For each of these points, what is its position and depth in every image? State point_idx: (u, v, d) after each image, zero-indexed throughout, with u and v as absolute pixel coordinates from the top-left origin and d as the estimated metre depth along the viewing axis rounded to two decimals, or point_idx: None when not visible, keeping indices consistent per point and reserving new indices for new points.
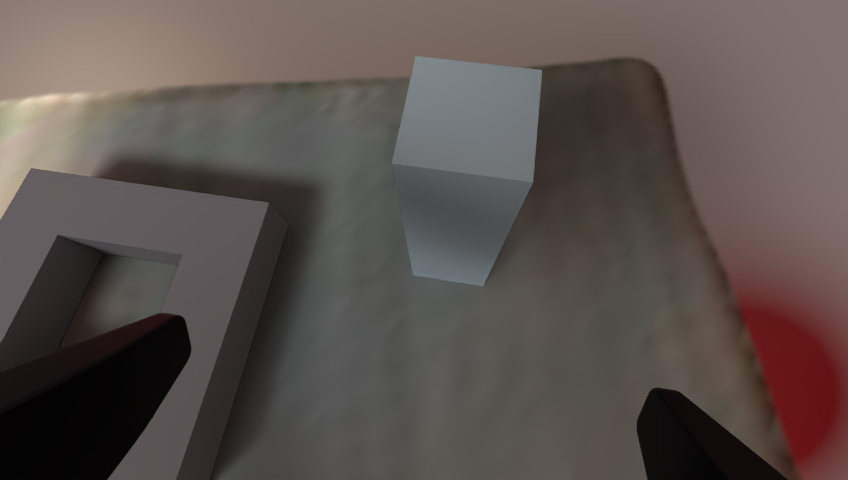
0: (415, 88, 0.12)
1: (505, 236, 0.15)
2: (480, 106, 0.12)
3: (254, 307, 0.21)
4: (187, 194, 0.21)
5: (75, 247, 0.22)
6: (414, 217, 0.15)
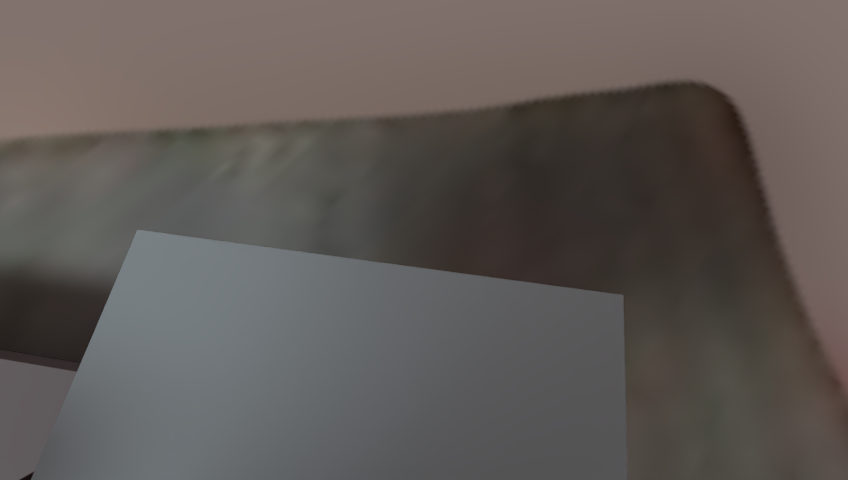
0: (96, 393, 0.03)
1: None
2: None
3: None
4: None
5: None
6: None
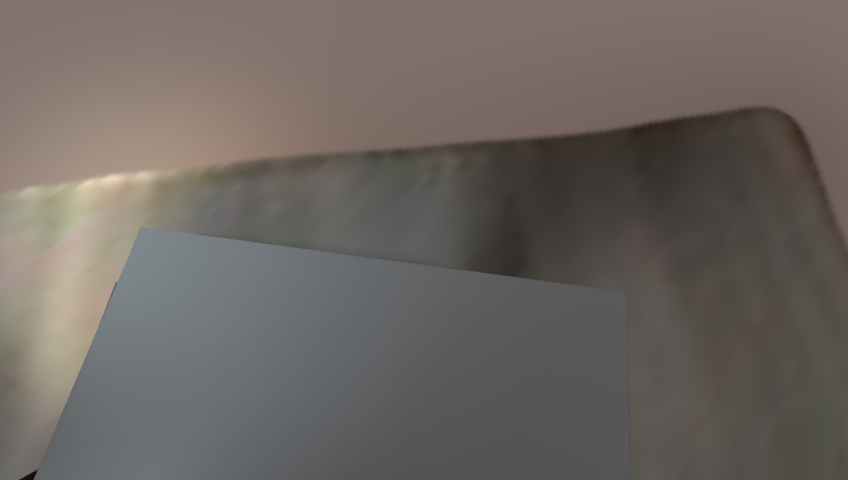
0: (100, 389, 0.03)
1: None
2: None
3: None
4: None
5: None
6: None
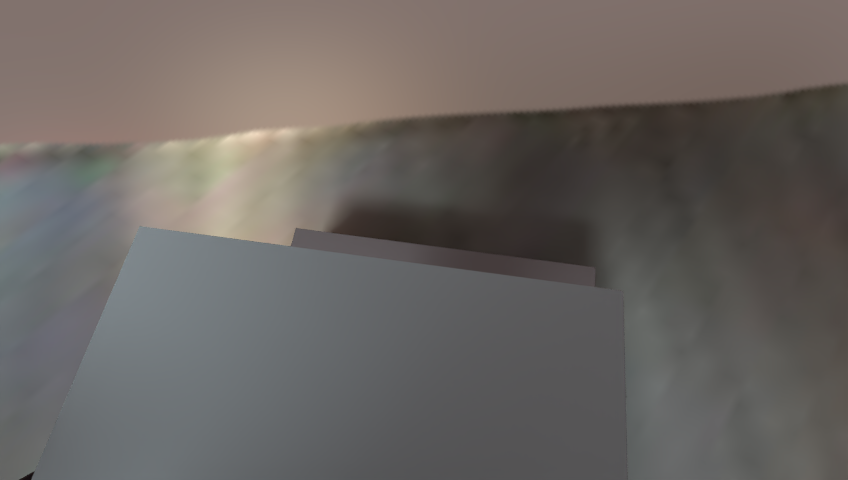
0: (98, 388, 0.03)
1: None
2: None
3: None
4: (493, 258, 0.18)
5: None
6: None
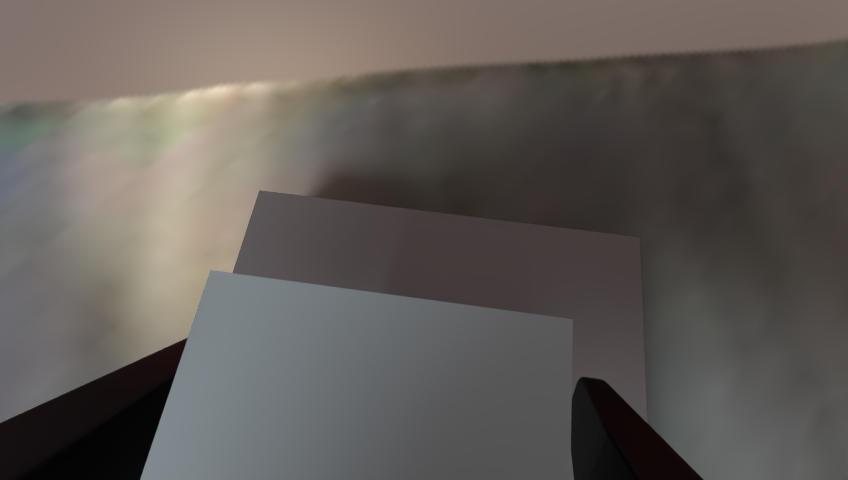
0: (189, 393, 0.04)
1: None
2: (381, 470, 0.04)
3: None
4: (508, 226, 0.14)
5: None
6: None
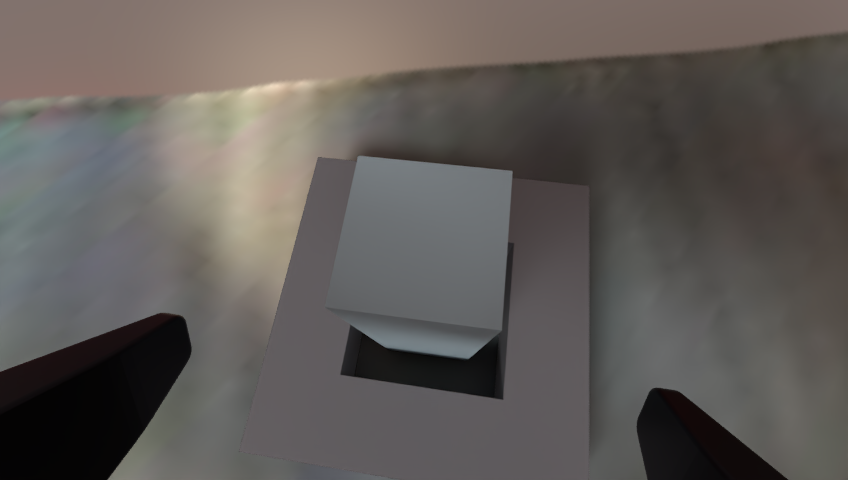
0: (356, 200, 0.10)
1: (480, 347, 0.13)
2: (436, 223, 0.10)
3: None
4: None
5: None
6: (371, 330, 0.12)
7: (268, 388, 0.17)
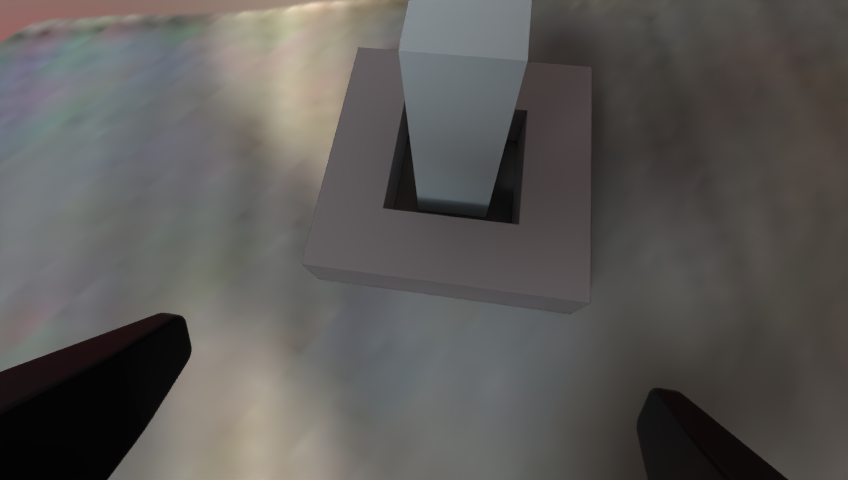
0: None
1: (504, 140, 0.16)
2: (478, 1, 0.13)
3: None
4: None
5: (406, 116, 0.24)
6: (419, 124, 0.16)
7: (323, 218, 0.20)
